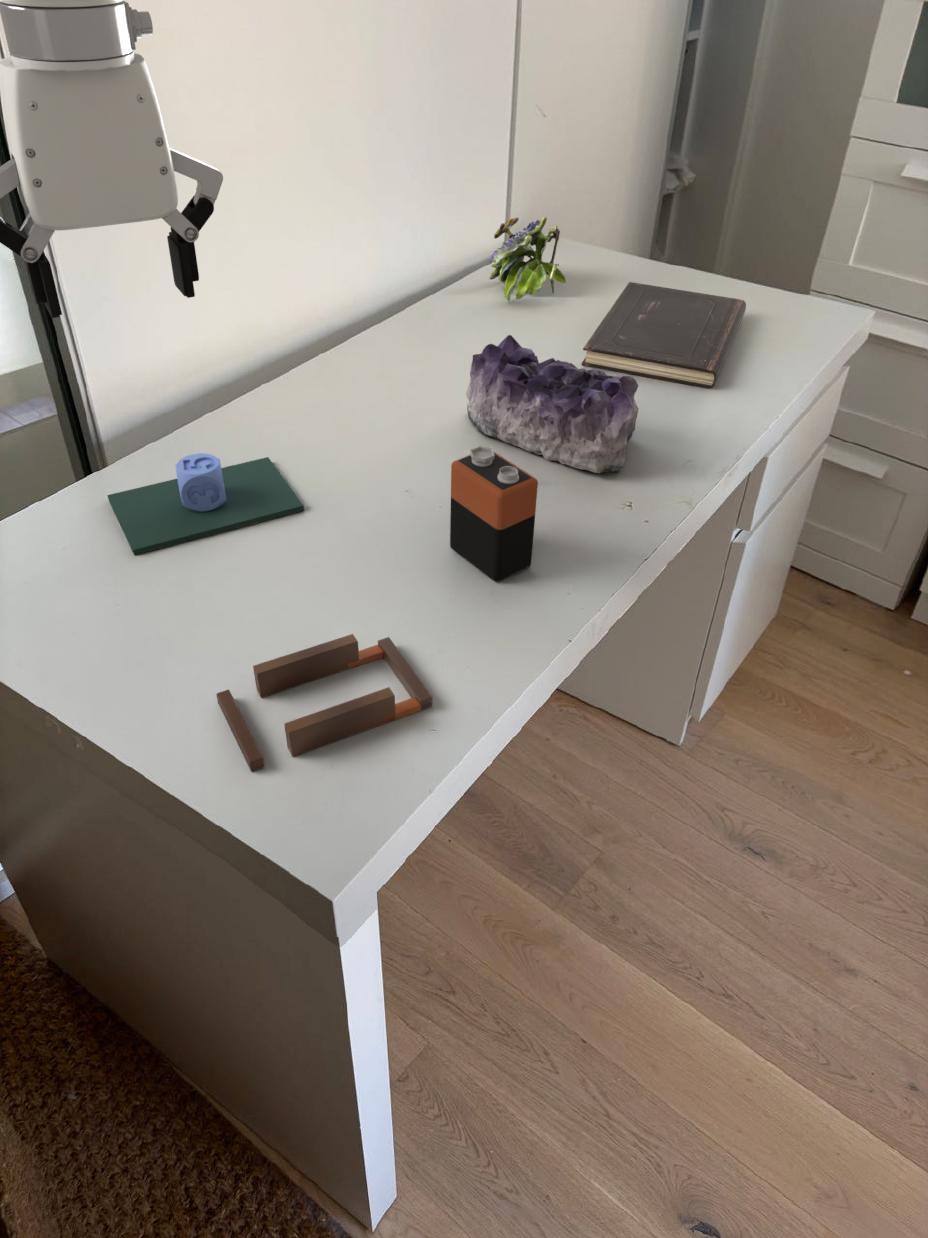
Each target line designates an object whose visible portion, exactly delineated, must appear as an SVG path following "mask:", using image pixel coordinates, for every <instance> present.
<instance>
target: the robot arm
mask: <svg viewBox="0 0 928 1238" xmlns="http://www.w3.org/2000/svg"><path fill="white" fill-rule="evenodd" d="M0 18H1V23H2V25H3V26H2V27H3V31H4V35H5V39H6V45H7V48H8V52H9V57H4V58H1V59H0V103H1V111H2V116H3V123H4V129H5V135H6V141H7V147H8V151H9V155H10V159H9V160H8V161H6V162H5V163H3V164H2V165H1V166H0V200H1V199H2V198H4V197H5V196H6V195H8V194H10V193H11V192H12V191H14V190H15V189H16V188H17V193H18V196H19V199H20V202H21V205H22V207H23V208H24V210H25V211H27V212H28V214H27V216H26V217H25V219H24V221H23V223H22V225H21V226H20V227H19V229H18V228H17V227H15V226H14V225H12V224H11V223H9V221H7V220H5V219H3V218H2V217H1V216H0V244H1V245H3V246H4V247H6V248H8V249H9V250H10V251H12V252H13V253H14V254H16V255H18V256H20V257H21V258H22V259H23V261H24V265H25V269H26V273H27V277H28V281H29V285H30V288H31V292H32V296H33V299H34V302H35V304H36V305H40V304H44V306H45V308H46V310H47V312H48V313H49V316H50V317H51V319H55V318H56V319H57V318H60V317H61V316H62V315H63V312H62V309H61V304H60V299H59V295H58V292H57V291H58V290H57V287H56V283H55V278H54V275H53V270H52V266H51V263H50V261H49V259H48V257H47V256H46V253H45V252H44V250H45V249H46V247H47V245H48V244H49V242H50V240H51V238H52V237H53V234H55V231H71V230H80V229H89V228H99V227H100V228H101V227H107V226H108V227H109V226H115V225H123V224H124V225H125V224H132V223H140V222H141V223H142V222H147V221H154V220H159V219H162V220H163V221H164V222H165V223H166V224H167V225H169V227H170V231H168V235H167V236H166V240H167V244H168V245H167V246H168V252H169V257H170V265H171V270H172V277H173V282H174V286H175V287H176V288H177V289H178V291H179V292H180V293H181V294H182V295H183V297H186V298H187V299H188V298H189V299H190V298H195V296H196V292H195V287H194V282H199V281H200V273H199V267H198V260H197V253H196V245H195V242H196V241H198V238H199V236H200V231H201V230H202V228H203V227H204V225H205V224H206V223H207V221H208V220H209V219H210V218H211V216H213V215H212V214H214V211H215V203H216V201H217V199H218V196H219V193H220V190H221V187H222V184H223V181H224V176H223V174H222V172H221V171H220V170H218V169H217V168H216V167H215V166H212V165H210V164H208V163H206V162H204V161H201V160H199V159H196V158H194V157H192V156H190V155H188V154H185V153H183V152H182V151H178V150H176V149H173V148H172V147H170V144H169V140H168V135H167V131H166V129H165V124H164V119H163V116H162V112H161V108H160V104H159V103H160V102H159V100H158V97H157V93H156V90H155V86H154V83H153V80H152V76H151V74H150V71H149V68H148V65H147V62H146V59H145V58H144V57H143V56H142V54H140V53H135V52H134V51H135V50H137V48H136V43H137V42H138V39H142V37H143V36H152V35H153V33H154V28H153V22H152V17H151V14H150V12H149V11H148V10H147V11H138V10H137V9H136V8H135V9H133V8H132V7H131V6H130V4H129V2H128V1H126V0H0ZM175 172H176V173H178V174H179V175H183V176H185V177H188V178H190V179H192V180H194V181H196V183H197V184H196V188H195V193H194V195H193V196H192V198H190V200H189V201H188V203H187V204H186V206H185V207H184V208H183V210H182V211H179V209H177V208H178V204H179V195H178V187H177V180H176V174H175Z"/></svg>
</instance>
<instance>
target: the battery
mask: <svg viewBox="0 0 928 1238" xmlns="http://www.w3.org/2000/svg"><path fill="white" fill-rule="evenodd" d="M538 486H539V481H538V479H537V478H536V477H535V476H534V475H532V474H530V473H528V472H527V471H525V470H524V469H522V468H520V467H519V466H518V465H516V464H514V463H513V462H512V461H509V460H508V459H506V458H505V457H503V456H501V455H500V454H499V453H497V452H495V451H494V450H493V448H491V447H486V446H484V445H483V446H482V445H478V446H476V447H473V448H472V449H470V450H469V455H466V456H464V457H461V458H458V459H456V460H454V461H452V462H451V464H450V517H449V518H450V519H449V520H450V521H449V522H450V523H449V547H450V549H452V550H453V551H454V552H455V553H456V554H458V555H459V556H460V557H462V558H463V559H464V560H466V561H467V562H468V563H470V564H471V565H472V566H473V567H475V568H476V569H478V570H479V571H480V572H481V573H483V574H484V575H486V577H488V578H490V579H491V580H492V581H493V582H496V583H497V582H500V581H502V580H504V579H507V578H509V577H510V576H511V577H512V575H514V574H518V573H519V572H522V571H523V570H525V569H527V568H529V567H530V566H531V565H532V560H533V547H534V535H535V525H536V522H535V521H536V513H537V511H536V509H537V499H538V498H537V497H538Z"/></svg>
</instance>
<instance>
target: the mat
mask: <svg viewBox="0 0 928 1238" xmlns="http://www.w3.org/2000/svg"><path fill="white" fill-rule="evenodd" d="M221 469H222V475H223V482H224V488H225V494H226V501H225V502H224V503H223V504H222V505H221V506H220V507H218V508H216V509H214V510H211V511H205V512H198V511H192V510H190V509H188V508H186V507H184V506H183V505H182V501H181V497H180V492H179V486H178V480H177V478H173V479H169V480H165V481H162V482H161V481H160V482H157V483H153V484H148V485H144V486H139V487H136V488H131V489H128V490H127V489H126V490H122V491H119V492H115V493H111V494H108V495H107V499H108V502H109V504H110V506H111V508H112V510H113V513H114V515H115V518H116V519H117V522H118V523H119V525H120V528H121V530H122V532H123V534H124V536H125V538H126V541H127V543H128V546H129V547H130V550H131V552H132V553H133V555H134V556H136V555H140V554H144V553H148V552H151V551H156V550H160V549H163V548H167V547H171V546H175V545H179V544H182V543H185V542H186V543H187V542H190V541H194V540H198V539H202V538H206V537H209V536H212V535H213V536H214V535H216V534H220V533H224V532H229V531H232V530H235V529H240V528H243V527H248V526H251V525H255V524H258V523H262V522H266V521H270V520H274V519H277V518H282V517H285V516H289V515H293V514H296V513H300V512H304V511H305V506H304V504H303V502H302V501H301V500H300V498H299V496H298V495H297V494H296V493H295V492H294V490H293V489H292V487H291V486H290V485H289V483H288V482H287V481H286V480H285V478H284V477H283V475H282V474H281V472H280V471H279V470H278V468H277V467H276V465H275V464H274V463H273V462H272V460H271V458H270V457H268V456H266V457H263V458H258V459H254V460H249V461H245V462H242V463H241V462H240V463H237V464H233V465H228V466H224V467H221Z"/></svg>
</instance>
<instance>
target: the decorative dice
mask: <svg viewBox="0 0 928 1238" xmlns="http://www.w3.org/2000/svg"><path fill="white" fill-rule="evenodd" d="M221 468H222V464H221V459H220V458H219V457H217V456H215V455H213V454H210V453H202V452H200V453H199V452H197V453H193V454H190V455H186V456H184V457H182V458H180V459H179V461H177V463H176V464H175V473H176V479H177V480H178V486H179V492H180V497H181V501H182V505H183V506H184V507H186V508H188V509H190V510H192V511H198V512H205V511H211V510H214V509H216V508H218V507H220V506H221V505H222V504H223V503H224V502H225V501H226V494H225V488H224V482H223V475H222V469H221Z"/></svg>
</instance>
